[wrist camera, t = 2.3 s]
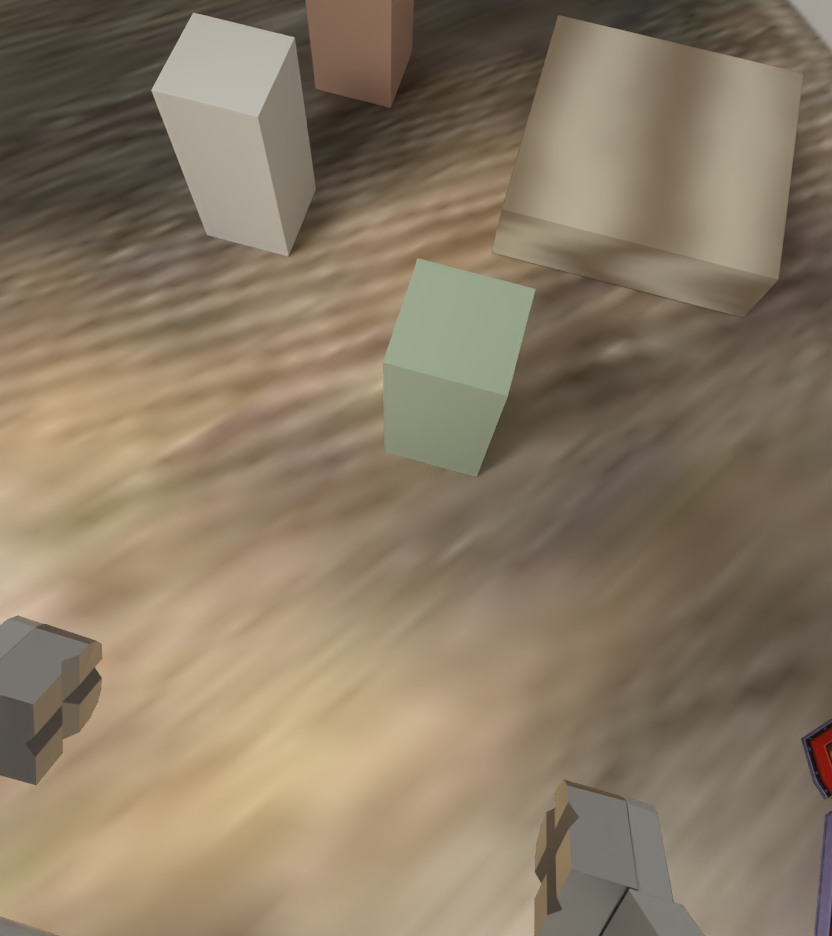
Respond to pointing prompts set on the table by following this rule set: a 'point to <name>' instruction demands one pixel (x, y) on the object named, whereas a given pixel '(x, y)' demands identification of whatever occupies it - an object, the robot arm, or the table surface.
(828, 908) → the fantasy tower
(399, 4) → the terracotta pillar
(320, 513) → the table surface
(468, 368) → the sage pillar
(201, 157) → the off-white pillar
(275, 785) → the table surface
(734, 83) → the birch plinth
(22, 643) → the robot arm
